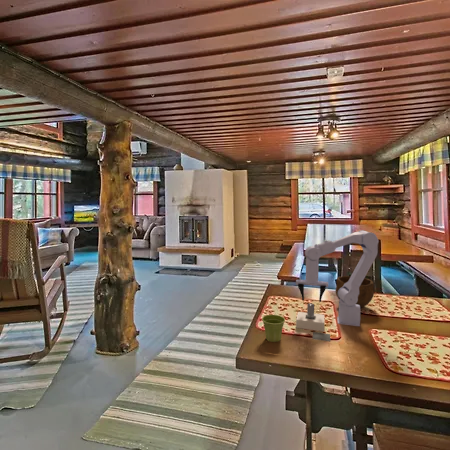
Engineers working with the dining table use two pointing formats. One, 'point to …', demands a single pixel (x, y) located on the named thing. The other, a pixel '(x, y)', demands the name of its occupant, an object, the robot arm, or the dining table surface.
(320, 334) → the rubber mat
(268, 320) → the plant pot
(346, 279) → the bowl
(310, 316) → the steel pin
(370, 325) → the dining table surface
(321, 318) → the block
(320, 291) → the robot arm
